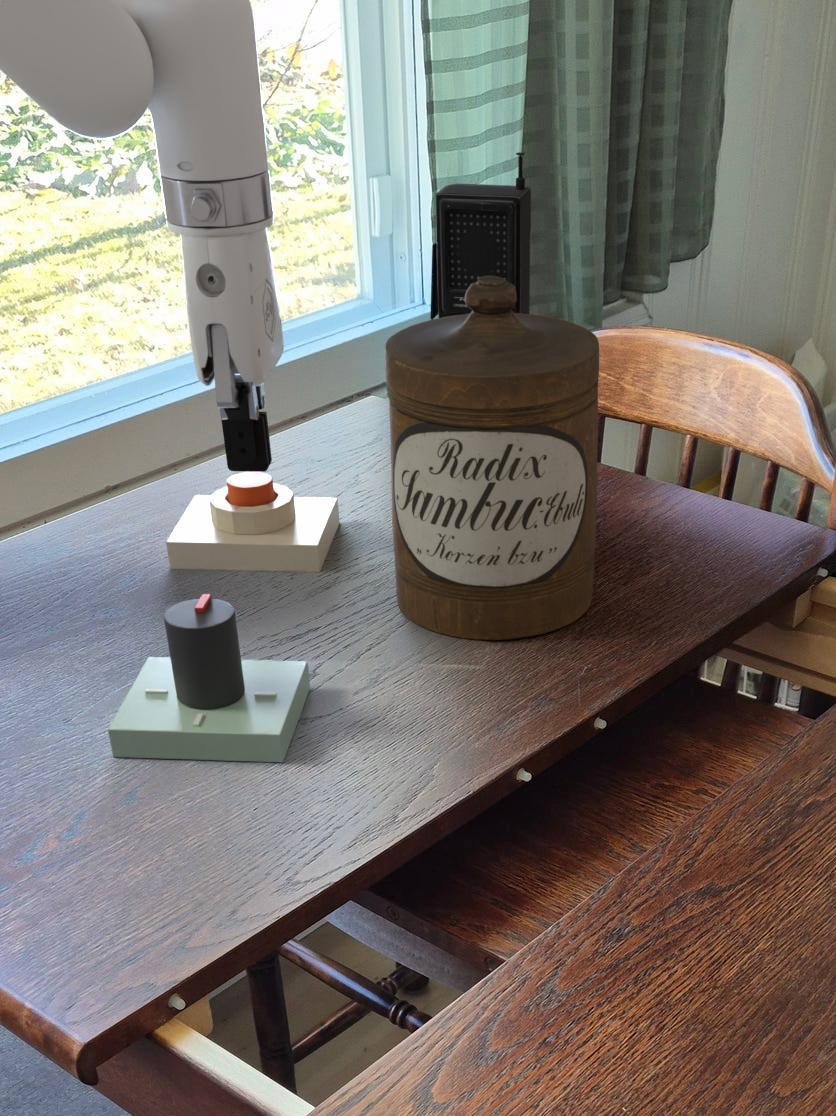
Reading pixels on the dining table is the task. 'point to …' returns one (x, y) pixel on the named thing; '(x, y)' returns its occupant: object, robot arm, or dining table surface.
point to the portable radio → (480, 242)
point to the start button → (250, 489)
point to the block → (254, 533)
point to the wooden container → (493, 468)
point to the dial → (204, 652)
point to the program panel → (212, 716)
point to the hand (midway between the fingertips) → (250, 467)
